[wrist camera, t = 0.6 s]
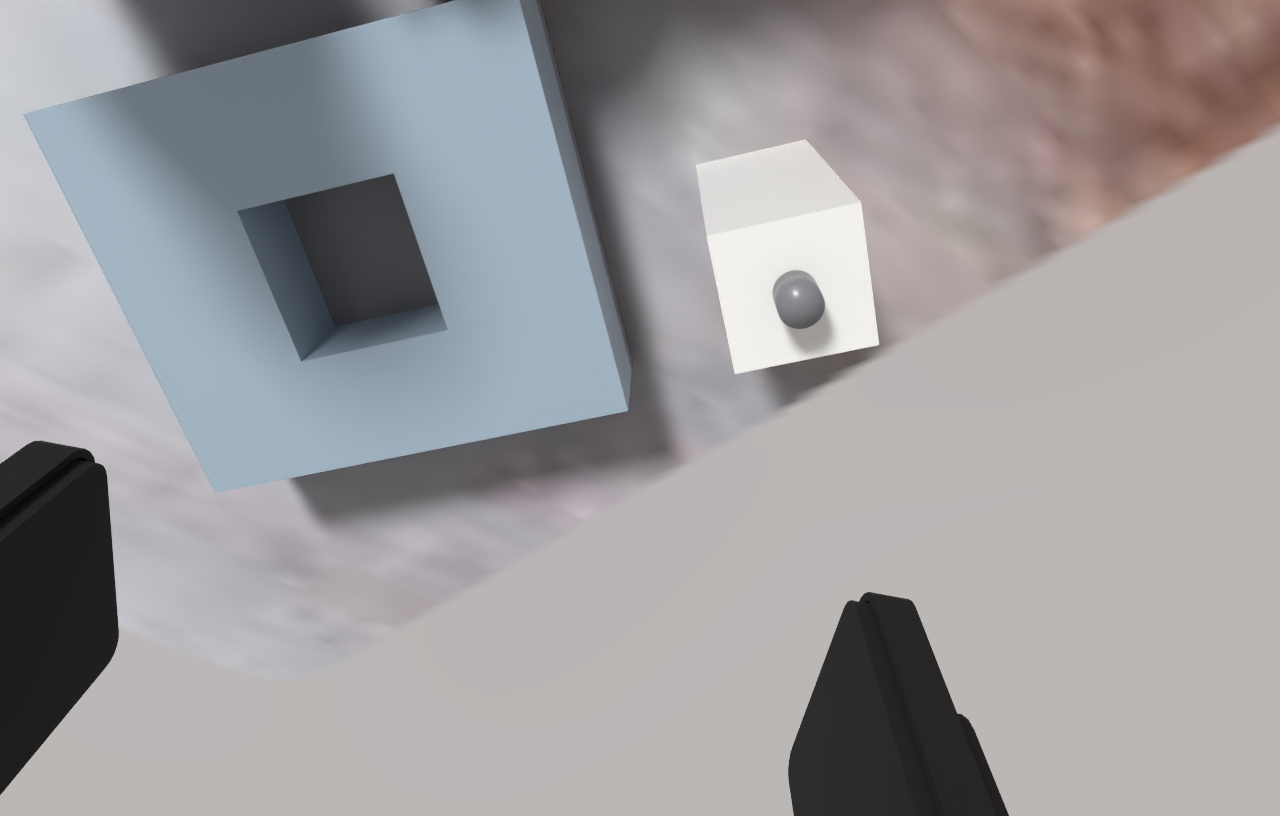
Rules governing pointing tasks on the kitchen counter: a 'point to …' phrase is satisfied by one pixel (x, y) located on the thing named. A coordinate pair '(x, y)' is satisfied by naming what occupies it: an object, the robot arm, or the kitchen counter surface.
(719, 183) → the white square peg
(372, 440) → the socket plate
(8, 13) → the kitchen counter surface
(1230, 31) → the kitchen counter surface
